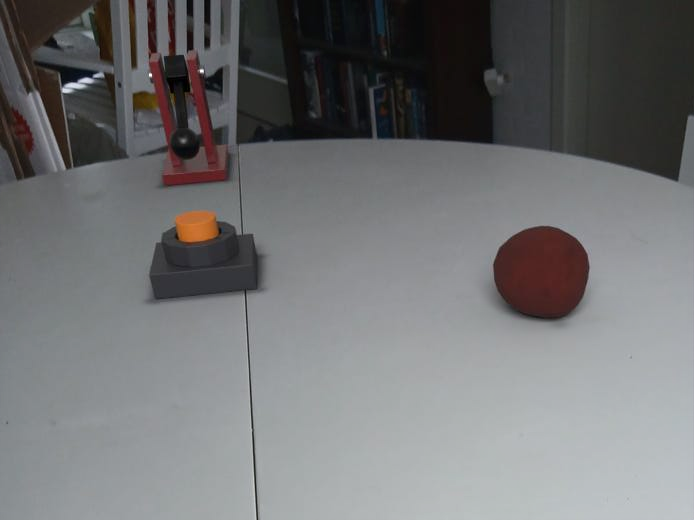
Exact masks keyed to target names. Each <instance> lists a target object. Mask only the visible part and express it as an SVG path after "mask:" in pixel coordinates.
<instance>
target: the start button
mask: <svg viewBox="0 0 694 520" xmlns="http://www.w3.org/2000/svg"><path fill="white" fill-rule="evenodd" d="M217 221H218V220H217V217H216V213H214V212H212V211H210V210H193V211H188V212H183V213H180V214H179V215H177V216H176V217H175V218H174V225H175V226H176V230H177V234H178V238H179V241H184V242H196V241H205V240H208V239H212V238H215V237H216V236H218V235H219V230H218V226H217Z"/></svg>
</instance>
